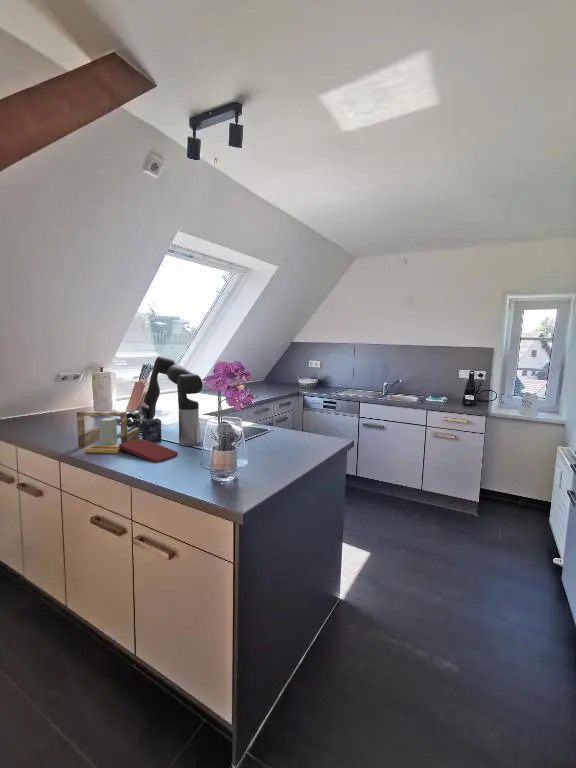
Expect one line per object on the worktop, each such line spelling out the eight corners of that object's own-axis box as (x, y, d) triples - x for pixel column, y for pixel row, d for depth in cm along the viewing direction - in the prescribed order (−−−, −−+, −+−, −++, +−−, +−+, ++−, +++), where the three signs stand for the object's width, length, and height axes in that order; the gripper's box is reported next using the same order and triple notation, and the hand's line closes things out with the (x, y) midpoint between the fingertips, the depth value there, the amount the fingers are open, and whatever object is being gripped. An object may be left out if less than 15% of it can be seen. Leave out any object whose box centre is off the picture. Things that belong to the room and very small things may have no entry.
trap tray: (123, 449, 166) (123, 446, 165) (117, 453, 160) (117, 449, 160) (92, 449, 166) (92, 445, 166) (85, 453, 160) (85, 448, 160)
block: (117, 442, 176) (116, 418, 175) (111, 445, 171) (111, 420, 170) (106, 442, 176) (105, 418, 175) (101, 445, 171) (100, 420, 170)
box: (144, 443, 176) (144, 421, 175) (142, 440, 181) (141, 419, 180) (161, 441, 181) (161, 420, 179) (158, 438, 185) (158, 418, 184)
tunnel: (139, 439, 183) (138, 406, 181) (124, 449, 167) (123, 413, 165) (97, 438, 183) (95, 405, 181) (78, 448, 167) (76, 412, 165)
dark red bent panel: (179, 463, 161) (137, 446, 172) (180, 453, 160) (138, 436, 171) (157, 472, 150) (114, 453, 161) (158, 461, 149) (115, 442, 160)
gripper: (120, 411, 200) (105, 417, 184) (146, 411, 200) (133, 418, 184) (120, 424, 201) (105, 432, 185) (146, 425, 201) (134, 432, 185)
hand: (119, 425), depth 184 cm, fingers open, 8 cm apart
